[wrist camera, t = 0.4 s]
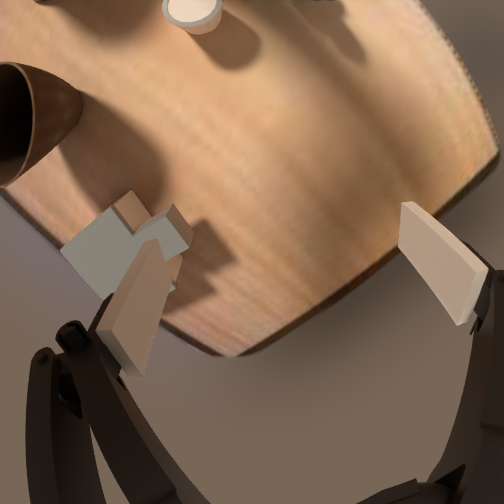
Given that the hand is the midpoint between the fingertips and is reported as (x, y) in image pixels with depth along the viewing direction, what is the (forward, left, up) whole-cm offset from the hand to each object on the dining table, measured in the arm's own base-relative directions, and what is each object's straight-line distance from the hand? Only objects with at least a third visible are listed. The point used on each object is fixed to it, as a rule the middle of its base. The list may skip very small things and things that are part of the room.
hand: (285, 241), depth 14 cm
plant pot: (-23, -21, -26) cm, 41 cm away
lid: (+2, -22, -21) cm, 31 cm away
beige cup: (-21, +3, -27) cm, 34 cm away
